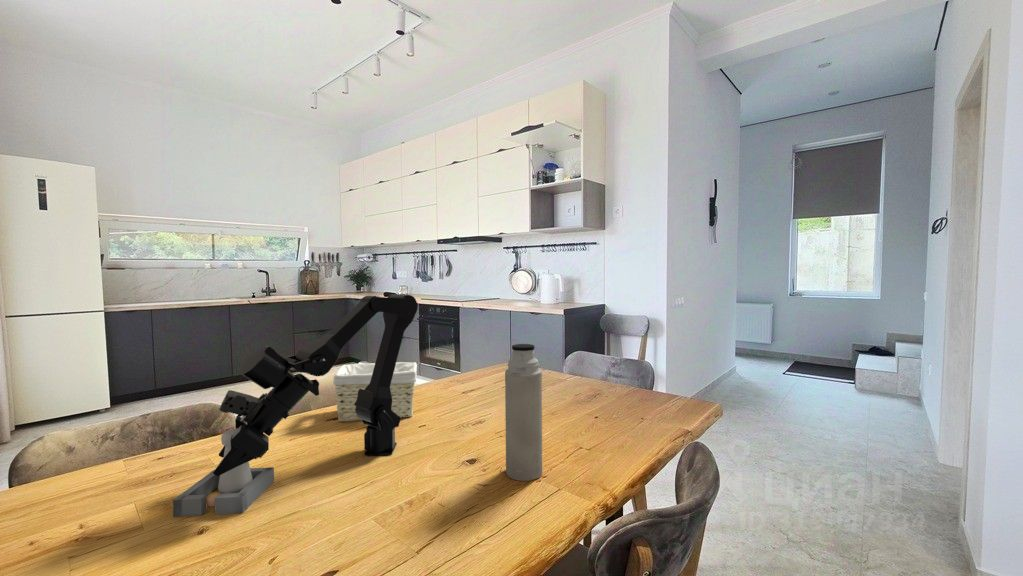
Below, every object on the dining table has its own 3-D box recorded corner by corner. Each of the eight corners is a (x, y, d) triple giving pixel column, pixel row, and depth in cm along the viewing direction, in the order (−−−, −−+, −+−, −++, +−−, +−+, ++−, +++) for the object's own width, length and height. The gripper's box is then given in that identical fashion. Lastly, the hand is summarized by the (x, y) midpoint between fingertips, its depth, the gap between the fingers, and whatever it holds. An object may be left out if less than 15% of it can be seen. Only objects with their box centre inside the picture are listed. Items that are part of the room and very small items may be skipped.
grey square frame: (274, 481, 89) (273, 467, 89) (242, 513, 77) (242, 496, 77) (214, 483, 88) (214, 469, 88) (173, 516, 77) (172, 500, 76)
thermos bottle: (512, 462, 98) (511, 341, 97) (546, 466, 95) (545, 342, 94) (500, 477, 90) (499, 346, 89) (536, 483, 88) (535, 348, 87)
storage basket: (417, 403, 144) (416, 360, 143) (417, 419, 128) (416, 370, 127) (342, 408, 139) (341, 363, 138) (332, 425, 123) (331, 375, 122)
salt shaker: (234, 505, 80) (232, 437, 80) (210, 501, 82) (208, 434, 81) (260, 490, 86) (258, 426, 85) (237, 486, 87) (235, 424, 87)
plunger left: (223, 499, 80) (223, 491, 80) (216, 506, 78) (215, 497, 78) (214, 500, 80) (214, 491, 80) (206, 506, 78) (206, 497, 78)
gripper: (250, 367, 92) (188, 426, 87) (245, 386, 76) (169, 460, 71) (291, 397, 96) (235, 455, 91) (295, 421, 80) (227, 494, 75)
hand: (217, 464), depth 82 cm, fingers open, 9 cm apart
